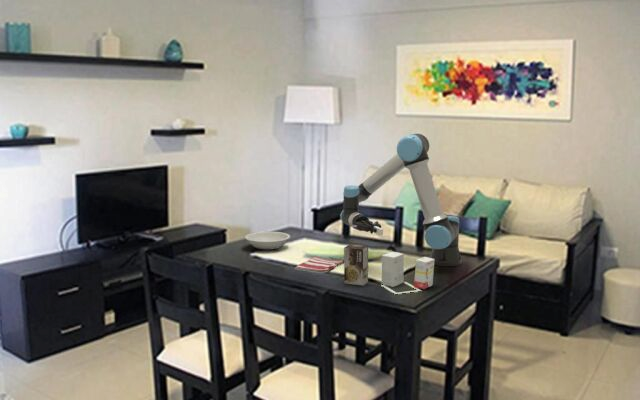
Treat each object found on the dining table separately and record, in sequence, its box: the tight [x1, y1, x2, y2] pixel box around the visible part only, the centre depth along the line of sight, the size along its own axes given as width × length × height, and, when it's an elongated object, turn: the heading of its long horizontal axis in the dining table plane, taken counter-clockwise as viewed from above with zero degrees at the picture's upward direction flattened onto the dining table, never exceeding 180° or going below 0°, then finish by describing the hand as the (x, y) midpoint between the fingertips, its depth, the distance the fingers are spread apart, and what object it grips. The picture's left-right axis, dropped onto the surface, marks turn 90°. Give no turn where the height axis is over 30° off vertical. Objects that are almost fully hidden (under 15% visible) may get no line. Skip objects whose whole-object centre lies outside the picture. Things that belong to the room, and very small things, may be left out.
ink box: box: [413, 256, 435, 290], centre depth 260 cm, size 9×5×12 cm, turn 144°
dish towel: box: [294, 255, 344, 274], centre depth 295 cm, size 17×23×3 cm
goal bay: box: [380, 281, 423, 295], centre depth 259 cm, size 12×13×1 cm
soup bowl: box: [244, 231, 291, 250], centre depth 329 cm, size 24×24×7 cm
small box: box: [381, 251, 405, 288], centre depth 265 cm, size 8×6×13 cm
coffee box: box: [343, 243, 369, 286], centre depth 266 cm, size 9×6×16 cm
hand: (381, 232), depth 271 cm, fingers closed
